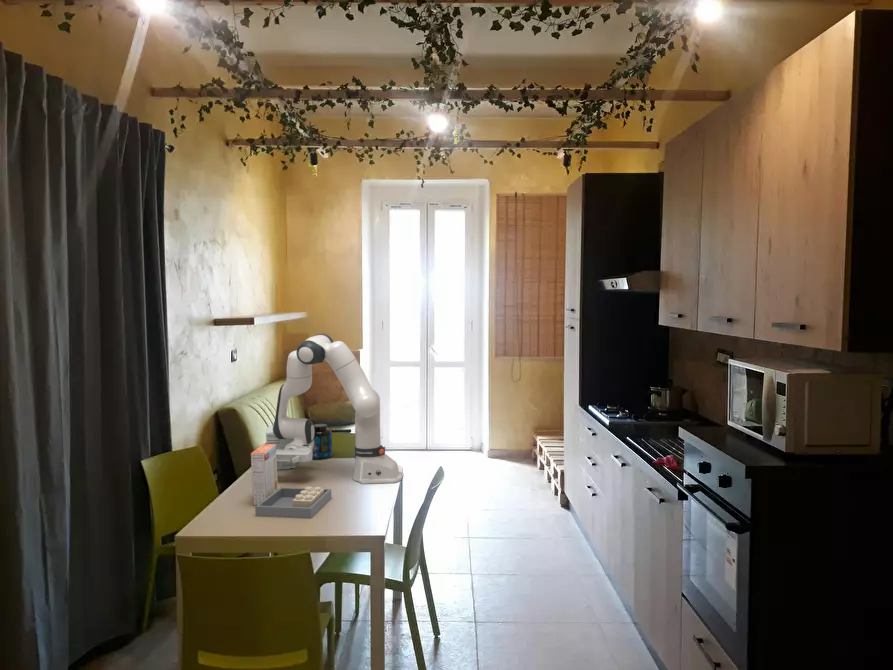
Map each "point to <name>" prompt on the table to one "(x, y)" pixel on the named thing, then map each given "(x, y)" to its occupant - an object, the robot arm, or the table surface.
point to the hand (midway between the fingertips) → (280, 460)
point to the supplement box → (279, 447)
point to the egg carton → (308, 496)
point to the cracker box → (264, 472)
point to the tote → (289, 504)
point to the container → (322, 442)
